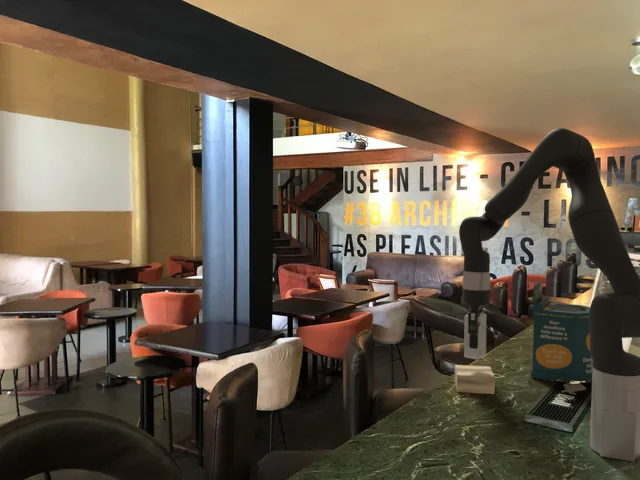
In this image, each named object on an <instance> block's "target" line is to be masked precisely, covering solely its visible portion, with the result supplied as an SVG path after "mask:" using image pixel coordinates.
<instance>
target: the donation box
mask: <svg viewBox="0 0 640 480" xmlns="http://www.w3.org/2000/svg"><path fill="white" fill-rule="evenodd" d="M532 290H533V291H532V318H533V333H532V339H533V340H532V368H531V370H530V379H534V378H537V379H536V380H540V379H544V380H543V381H547V380H553V381H556V380H558V379H566V380H573V381H584V380H592V372H593V359H592V355H591V351H590V326H589V313H590V306H586V305H582V304H572V303H562V302H551V301H550V297H549V296H546V295H544V294H543V280H539V282H537V283H536V284H534V285H533V289H532ZM553 381H552V382H553Z"/></svg>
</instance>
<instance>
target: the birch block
mask: <svg viewBox="0 0 640 480" xmlns="http://www.w3.org/2000/svg"><path fill="white" fill-rule="evenodd" d="M454 384H455V387H456V392H457V393H472V394H487V395H488V394H489V395H495V392H496V391H495V387H496V377H495V374H494V373H493V370H492V367H491V366H484V365H483V366H482V365H466V364H465V365H464V364H455V365H454Z"/></svg>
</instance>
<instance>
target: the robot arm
mask: <svg viewBox="0 0 640 480" xmlns="http://www.w3.org/2000/svg"><path fill="white" fill-rule="evenodd" d="M551 168H554V169H555V168H556V169H559V170H561V171H562V172H563V173H564V175H565V178H566V180H567V182H568V186H569V188H570V192H571V200H570V203H569V207H568V216H567V217H568V224H569V227H570V230H571V233H572V236H573V240H574V242H575V244H576V246H577V248H578V249H579V250H580V252H581V253H582V254H583V255H584V256H585V257H586V258H587V259H588V260H589V261H590V262H591V263H592V264H593V265H594V266H596V268H597V269H599V271H601V273H602V274H603V275H604V276H605V277H606V279H607V280H608V282H609V284H610V286H611V289H612V290H613V293H612V292H608V293H606V292H605V293H599V294H597V295H596V296H594V297H593V299H592V300H591V303H590V306H589V307H590V313H589V326H590V351H591V355H592V359H593V372H592V383H591V399H590V400H591V401H590V402H591V405H590V406H591V407H590V434H589V435H590V437H589V440H590V442H589V446H590V448H591V449H592V450H593V451H594V452H596V453H597V454H599V456H600V457H603V458H610V459H616V460H621V461H627V462H636V459H639V458H640V356H638V355H636V354H633V353H631V352H627V351H625V350H624V346H623V339H625V338H627V339H628V338H631V339H633V338H640V276H639V274H638V273H637V270H636V268H635V266H634V263H633V262H632V260H631V257H630V255H629V251H628V250H627V247H626V244H625V242H624V240H623V237H622V234H621V231H620V227H619V225H618V222H617V219H616V216H615V213H614V211H613V209H612V206H611V203H610V202H609V201H610V200H609V199H608V196H607V193H606V191H605V188H604V185H603V184H602V180H601V177H600V173H599V170H598V169H599V168H598V165H597V161H596V155H595V152H594V148H593V145H592V143H591V141H590V140H589V139H588V138H587V137H586V136H583V135H582V134H579V133H577V132H575V131H572V130H570V129H568V128H563V127H558V128H555V129H552V130H550V131H549V132H548V133H547V134H546V135H544V137H543V138H542V139H541V140H540V142H539V143H538V144H537V145H536V147H534V149H533V150H532V152H531V153H530V154H529V155H528V157H527V158H526V160H525V161H524V162H523V163H522V164H521V166H520V167H519V168H518V170H517V171H516V173H515V174H514V176H512V177H511V179H510V180H509V181H508V182H507V183H506V184H505V185H504V186H503V187H502V188H501V189H500V190H499V191H498V192H496V194H495V195H493V197H491V198H490V199H489V200H488V202H487V203H485V205H484V213H483V214H482V215H481V216H468V217H465V218H463V220H462V221H461V223H460V226H459V228H458V234H459V235H458V237H459V242H460V245H461V250H462V253H463V274H462V275H463V276H462V290H461V291H462V294H461V295H462V297H461V299H462V300H461V302H462V303H463V304H464V305H467V306H468V305H469V306H470V308H469V309H468V310H467V315H468V334H469V335H470V340H469V347H470V348H473V349H477V348H478V334H479V328H480V327H481V319H482V317H483V314H485V313H484V307H485V306H488V305H490V304H491V272H490V270H491V269H490V268H491V267H490V265H491V256H490V253H489V252H488V251H487V250H484V248H483V243H482V242H487V241H490V240H491V239H492V238H494V237H495V236H496V235H497V234H498V232H499V231H500V230H501V229H502V227H503V226H504V225H505V223H506V221H507V220H509V219H510V218H511V217H512V216H513V215H514V214H516V213H517V212H518V211H519V210H520V209H521V208H522V207H523V206H524V205H525V204H526V202H527V201H528V199H529V196H530V194H531V192H532V189H533V187H534V185H535V184H536V181H537V180H538V179H539V178H540V177H541V176H542V175H543V174H544V173H546V172H547V171H548V170H550V169H551ZM478 317H480V318H479V323H478ZM472 327H476V330H471V329H472Z"/></svg>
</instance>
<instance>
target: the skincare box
mask: <svg viewBox="0 0 640 480" xmlns="http://www.w3.org/2000/svg"><path fill="white" fill-rule="evenodd" d="M463 318H464V329H463V330H464V334H463V337H464V338H463V339H464V340H463V344H464V347H463V357H464V358H466V359H467V358H468V359H473V360H479V359H481V358H483V357H485V356H486V355H487V314H486V313H484V314H483V317H482V319H481V327H480V328H479V334H478V348H477V349H473V348H470V347H469V340H470V335H469V334H468V314H466V315H464V317H463ZM479 318H480V317H478V323H479ZM471 330H476V327H472V329H471Z"/></svg>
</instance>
